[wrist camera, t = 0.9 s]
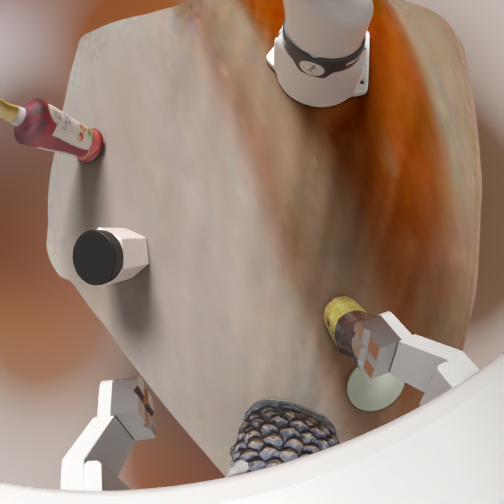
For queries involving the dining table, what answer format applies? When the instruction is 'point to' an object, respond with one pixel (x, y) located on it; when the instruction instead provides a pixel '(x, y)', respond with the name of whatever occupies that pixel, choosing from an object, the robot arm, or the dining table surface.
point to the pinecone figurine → (278, 436)
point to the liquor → (52, 130)
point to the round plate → (373, 390)
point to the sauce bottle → (344, 323)
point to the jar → (109, 255)
